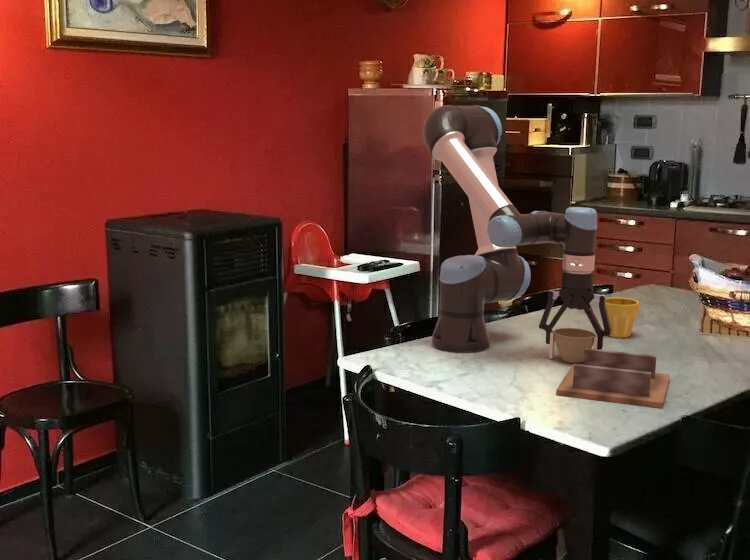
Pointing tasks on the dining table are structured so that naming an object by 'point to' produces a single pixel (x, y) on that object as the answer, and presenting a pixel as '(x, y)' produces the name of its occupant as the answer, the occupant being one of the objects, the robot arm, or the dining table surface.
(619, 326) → the plant pot
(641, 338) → the dining table surface
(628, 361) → the cup cradle
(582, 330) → the flower pot
